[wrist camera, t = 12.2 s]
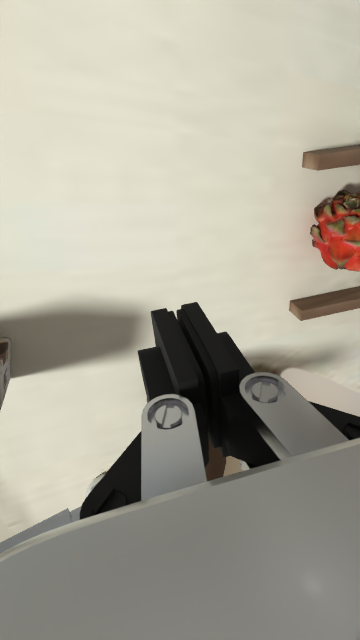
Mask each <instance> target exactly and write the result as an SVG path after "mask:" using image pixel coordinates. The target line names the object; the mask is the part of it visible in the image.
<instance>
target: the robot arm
mask: <svg viewBox="0 0 360 640" xmlns="http://www.w3.org/2000/svg"><path fill="white" fill-rule="evenodd" d="M151 317H152V324H153V330H154V337H155V343H156V347H153V348H148V349H143V350H139V351H138V355H139V361H140V366H141V371H142V376H143V381H144V386H145V390H146V394H147V399H148V404H146V406H145V408H144V409H143V412H142V431H141V432H140V433H139V434H138V435H137V437H136V438H135V439H134V440H133V441H132V443H131V444H130V445H129V446H128V447H127V449H126V450H125V451H124V452H123V453H122V455H121V456H120V457H119V458H118V460H117V461H116V462H115V463H114V464H113V466H112V467H111V468H110V469H109V470H108V472H107V473H106V474H105V475H104V476H103V478H102V479H101V480H100V481H99V482H98V484H97V485H96V486H95V487H94V488H93V490H92V491H91V492H90V493H89V494H88V496H87V497H86V499H85V501H84V502H83V504H82V506H81V507H79V508H77V509H75V510H73V511H71V512H69V509H68V508H67V509H66V510H64V511H62V512H60V513H58V514H56V515H54V516H52V517H50V518H48V519H46V520H44V521H42V522H40V523H38V524H36V525H34V526H32V527H30V528H28V529H26V530H24V531H22V532H20V533H18V534H16V535H14V536H12V537H11V538H9V539H7V540H5V541H3V542H1V543H0V640H360V417H358V416H355V415H352V414H348V413H345V412H342V411H339V410H335V409H332V408H329V407H326V406H322V405H319V404H316V403H313V402H309V401H307V400H306V399H305V398H304V397H303V396H302V395H301V394H300V393H299V392H298V391H297V390H295V389H294V388H293V387H292V386H291V385H290V384H289V383H288V382H287V381H286V380H284V379H283V378H282V377H280V376H278V375H276V374H273V373H267V372H257V373H255V372H254V371H253V369H252V368H251V366H250V365H249V363H248V362H247V360H246V359H245V357H244V356H243V355H242V353H241V352H240V350H239V349H238V347H237V346H236V344H235V343H234V341H233V340H232V339H231V337H230V336H229V334H228V333H227V332H222V333H216V331H215V330H214V328H213V326H212V325H211V323H210V322H209V320H208V319H207V317H206V315H205V314H204V312H203V311H202V309H201V308H200V306H199V304H198V303H197V302H194V303H189V304H184V305H182V306H181V309H179V310H177V319H176V317H175V314H174V312H173V311H169V312H168V311H167V309H166V308H164V309H159V310H154V311H151ZM209 439H210V442H211V444H212V446H213V448H214V449H215V448H219V449H220V451H221V454H222V456H223V457H227V456H232V457H235V458H237V459H239V460H240V466H241V468H242V470H243V471H242V472H238V473H235V474H232V475H228V476H225V477H221V478H218V479H214V480H211V481H208V482H207V479H206V473H205V468H206V466H207V464H208V463H209Z"/></svg>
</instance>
